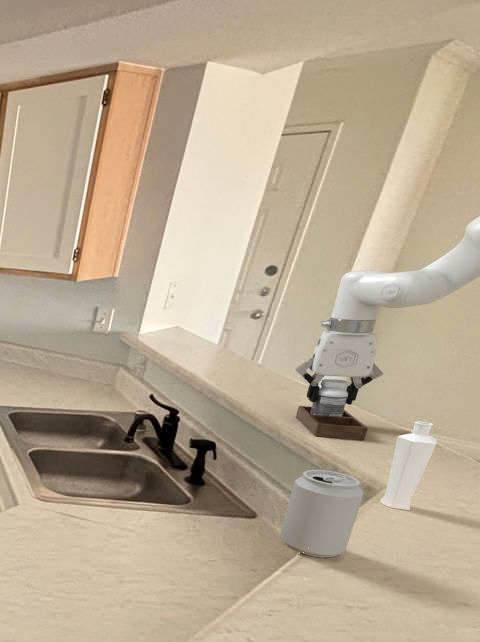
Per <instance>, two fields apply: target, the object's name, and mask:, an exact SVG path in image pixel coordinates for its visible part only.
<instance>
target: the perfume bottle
mask: <svg viewBox="0 0 480 642" xmlns="http://www.w3.org/2000/svg"><path fill="white" fill-rule="evenodd" d="M413 423H414V426H413V429H412V431H411V433H406V434H401V435H397V439H396V444H395V448H394V454H393V457H392V462H391V466H390V470H389V476H388V480H387V484H386V490H385V493H384V495H383V497H381V499H380V500H379V503H380V504H382V505H384V506H386V507H387V508H390V509H395V510H397V509H398V510H405V511H406V510H407V511H410V510H411V500H412V498H413V496H414V494H415V491H416V489H417V487H418V486H419V483H420V481H421V478H422V476H423V475H424V472H425V470H426V467H427V465H428V463H429V461H430V459H431V457H432V454H433V453H434V451H435V449H436V446H437V444H438V440H437V438H435V437H433V436H431V435H429V434H430V431H431V428H432V426H434V423H432V422H428V421H423V420H422V421H421V420H420V421H413Z"/></svg>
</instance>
